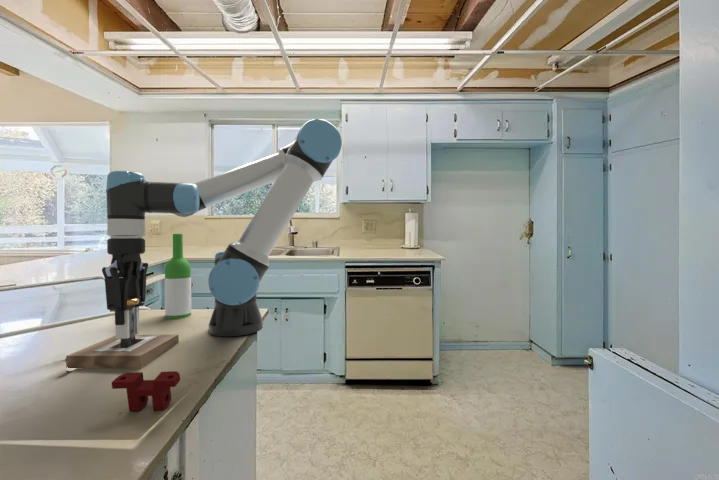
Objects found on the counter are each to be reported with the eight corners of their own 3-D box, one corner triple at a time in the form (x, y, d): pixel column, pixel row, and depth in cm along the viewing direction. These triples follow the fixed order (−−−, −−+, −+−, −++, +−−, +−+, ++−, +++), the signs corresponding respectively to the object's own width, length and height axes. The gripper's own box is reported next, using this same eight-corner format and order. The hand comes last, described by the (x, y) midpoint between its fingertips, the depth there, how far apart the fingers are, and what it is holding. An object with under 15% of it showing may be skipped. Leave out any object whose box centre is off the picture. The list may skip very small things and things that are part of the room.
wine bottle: (175, 327, 111) (175, 233, 111) (159, 325, 114) (158, 233, 114) (196, 322, 118) (195, 233, 118) (180, 320, 121) (180, 233, 121)
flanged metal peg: (124, 343, 86) (123, 297, 85) (143, 342, 86) (143, 297, 86) (111, 349, 81) (110, 301, 81) (131, 349, 81) (131, 300, 81)
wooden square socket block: (178, 347, 91) (178, 333, 91) (140, 371, 75) (140, 354, 75) (117, 348, 91) (117, 333, 91) (66, 372, 75) (66, 355, 75)
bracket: (121, 372, 60) (181, 371, 61) (125, 402, 61) (184, 400, 62) (111, 382, 57) (174, 380, 58) (115, 413, 58) (177, 411, 59)
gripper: (132, 237, 91) (133, 327, 91) (84, 237, 75) (85, 346, 75) (161, 237, 91) (162, 326, 91) (119, 237, 75) (120, 346, 75)
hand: (127, 335), depth 83 cm, fingers closed on flanged metal peg, 3 cm apart
